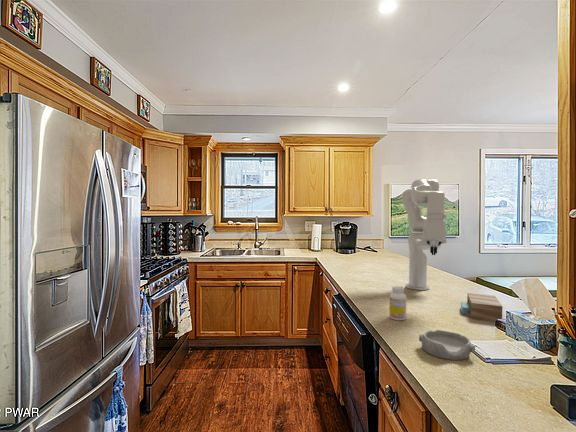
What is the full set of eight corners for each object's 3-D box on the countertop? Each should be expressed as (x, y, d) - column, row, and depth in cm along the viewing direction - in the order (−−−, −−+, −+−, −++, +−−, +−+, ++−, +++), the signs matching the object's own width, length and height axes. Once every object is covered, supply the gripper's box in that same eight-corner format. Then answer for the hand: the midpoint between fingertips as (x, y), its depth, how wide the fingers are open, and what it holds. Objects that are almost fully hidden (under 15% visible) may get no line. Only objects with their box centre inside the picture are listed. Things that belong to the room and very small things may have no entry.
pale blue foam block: (460, 308, 150) (460, 301, 150) (491, 312, 145) (491, 305, 145) (462, 314, 141) (462, 307, 141) (494, 318, 136) (494, 311, 136)
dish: (480, 359, 99) (481, 343, 99) (443, 365, 95) (444, 348, 95) (445, 340, 113) (445, 326, 113) (411, 344, 109) (412, 330, 109)
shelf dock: (462, 305, 153) (462, 292, 153) (494, 309, 148) (495, 295, 148) (465, 317, 137) (466, 302, 137) (502, 322, 132) (502, 306, 132)
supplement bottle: (394, 314, 140) (394, 284, 139) (408, 318, 135) (409, 287, 135) (386, 318, 135) (386, 287, 135) (401, 322, 130) (402, 290, 130)
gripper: (451, 217, 157) (450, 254, 158) (418, 215, 163) (417, 252, 164) (452, 218, 150) (451, 257, 151) (418, 217, 156) (416, 254, 157)
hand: (433, 254), depth 158 cm, fingers closed
